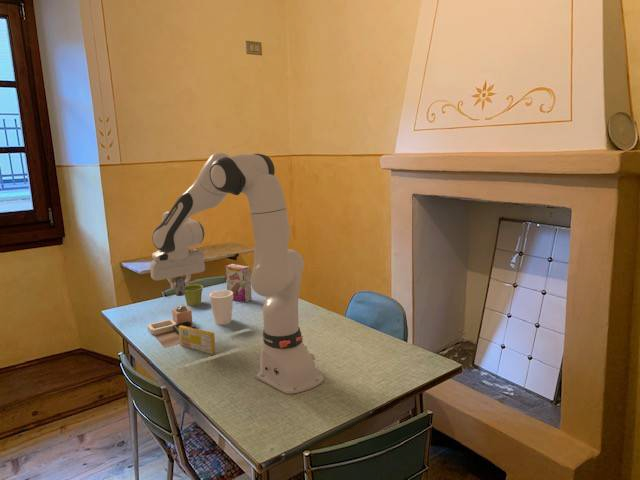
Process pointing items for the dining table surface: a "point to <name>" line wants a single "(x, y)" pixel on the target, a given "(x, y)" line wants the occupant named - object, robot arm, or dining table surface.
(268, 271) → the robot arm
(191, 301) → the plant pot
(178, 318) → the terracotta square box
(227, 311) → the foam cup
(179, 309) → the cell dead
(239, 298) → the candy bar box
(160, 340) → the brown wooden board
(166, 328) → the trough
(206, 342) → the candy box
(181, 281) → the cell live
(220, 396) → the dining table surface
